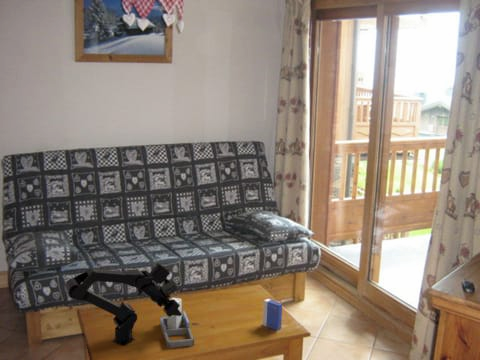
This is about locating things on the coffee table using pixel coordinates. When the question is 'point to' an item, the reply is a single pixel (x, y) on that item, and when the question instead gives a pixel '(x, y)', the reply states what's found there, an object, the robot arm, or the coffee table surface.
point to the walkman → (272, 314)
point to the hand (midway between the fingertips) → (177, 311)
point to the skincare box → (174, 317)
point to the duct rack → (177, 333)
